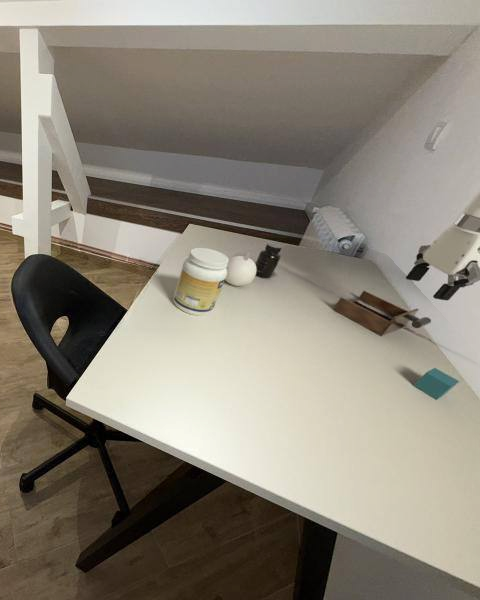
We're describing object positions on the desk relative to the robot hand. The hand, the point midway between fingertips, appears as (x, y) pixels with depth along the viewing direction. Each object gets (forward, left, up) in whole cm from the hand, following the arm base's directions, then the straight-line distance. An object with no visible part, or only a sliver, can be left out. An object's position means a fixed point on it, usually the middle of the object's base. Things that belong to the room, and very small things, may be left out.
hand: (425, 288), depth 80 cm
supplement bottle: (+40, +2, -18) cm, 44 cm away
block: (-15, +12, -17) cm, 26 cm away
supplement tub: (+32, +44, -18) cm, 57 cm away
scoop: (+6, -8, -17) cm, 20 cm away
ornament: (+38, +19, -18) cm, 46 cm away
